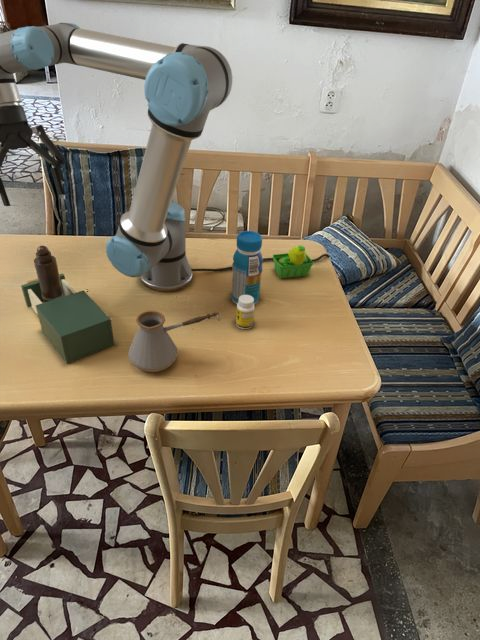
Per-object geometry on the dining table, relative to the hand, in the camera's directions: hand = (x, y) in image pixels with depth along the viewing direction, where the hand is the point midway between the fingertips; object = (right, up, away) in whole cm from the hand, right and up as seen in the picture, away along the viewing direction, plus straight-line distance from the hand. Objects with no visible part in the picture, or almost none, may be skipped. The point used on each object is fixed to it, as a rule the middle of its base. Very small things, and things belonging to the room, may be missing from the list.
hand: (35, 200), depth 122 cm
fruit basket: (+66, -14, +32) cm, 75 cm away
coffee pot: (+36, -41, -4) cm, 54 cm away
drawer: (+2, -26, +6) cm, 27 cm away
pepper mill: (+3, -26, +5) cm, 27 cm away
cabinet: (+11, -35, -1) cm, 37 cm away
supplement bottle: (+52, -31, +10) cm, 61 cm away
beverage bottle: (+52, -23, +19) cm, 60 cm away
